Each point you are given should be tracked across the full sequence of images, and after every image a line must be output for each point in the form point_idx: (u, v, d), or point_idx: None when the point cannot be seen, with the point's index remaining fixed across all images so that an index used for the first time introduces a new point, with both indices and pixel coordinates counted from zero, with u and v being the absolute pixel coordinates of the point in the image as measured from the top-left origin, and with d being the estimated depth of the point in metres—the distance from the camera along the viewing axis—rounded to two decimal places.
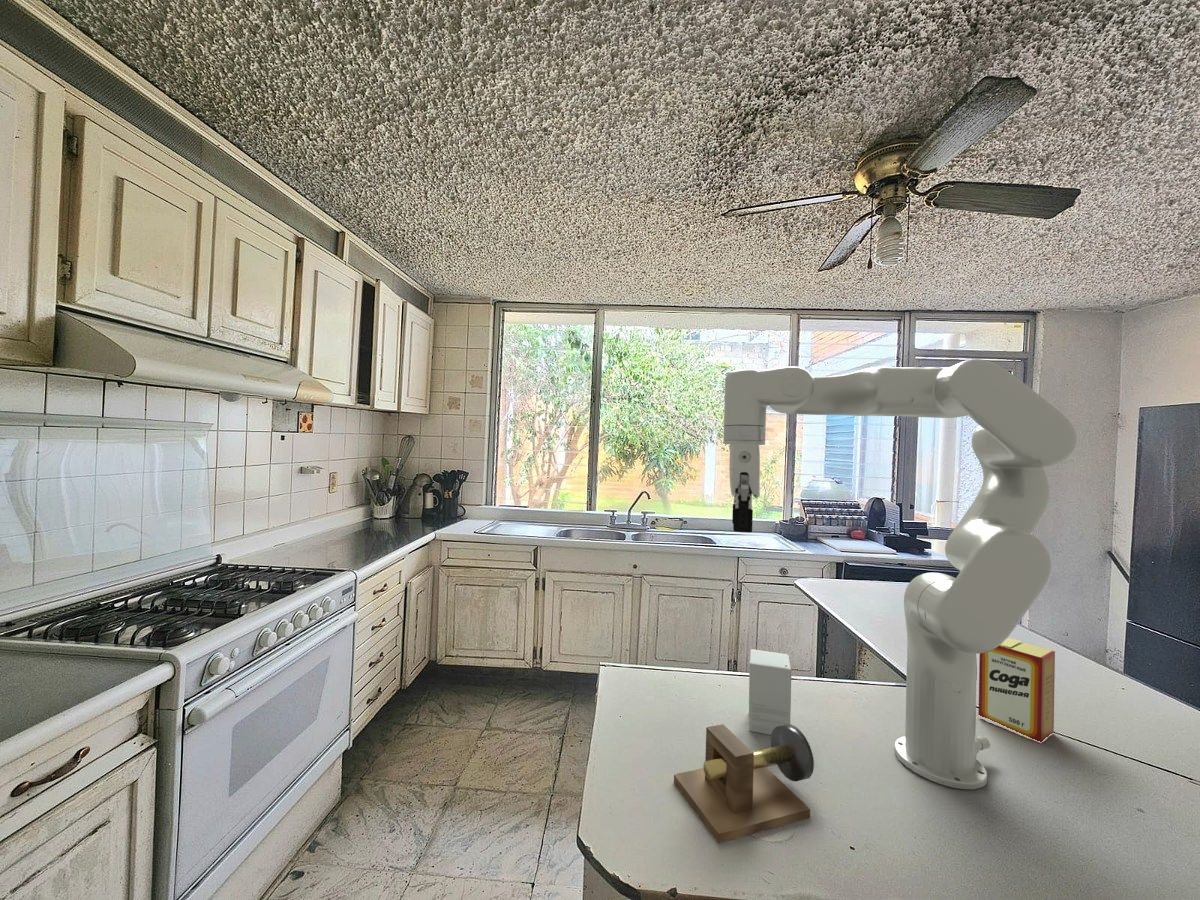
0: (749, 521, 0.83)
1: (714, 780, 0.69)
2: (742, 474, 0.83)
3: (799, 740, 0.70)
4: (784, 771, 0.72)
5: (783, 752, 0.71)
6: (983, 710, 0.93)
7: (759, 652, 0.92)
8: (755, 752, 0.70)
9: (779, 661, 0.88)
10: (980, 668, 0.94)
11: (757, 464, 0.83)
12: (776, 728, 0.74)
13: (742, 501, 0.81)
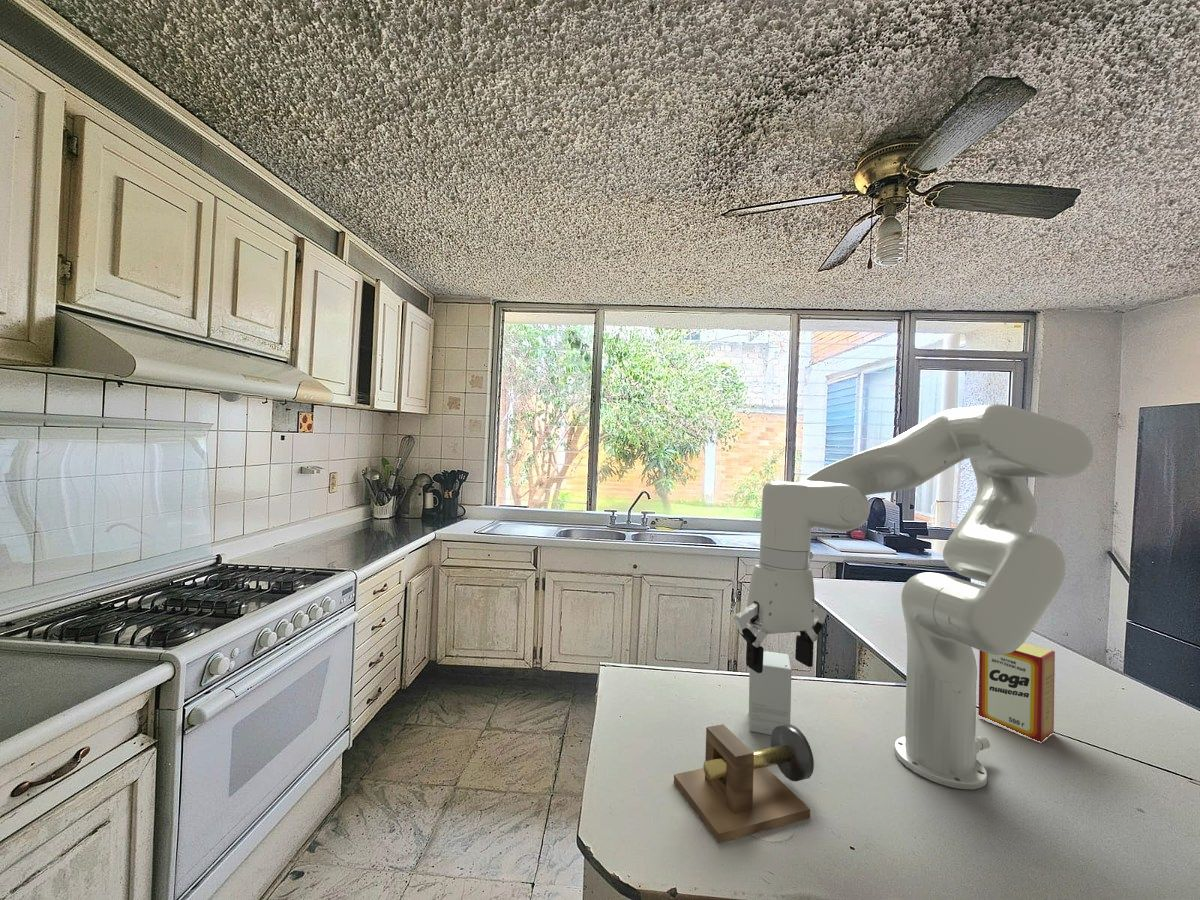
0: None
1: (714, 780, 0.69)
2: None
3: (799, 740, 0.70)
4: (784, 771, 0.72)
5: (783, 752, 0.71)
6: (983, 710, 0.93)
7: None
8: (755, 752, 0.70)
9: (779, 661, 0.88)
10: (980, 668, 0.94)
11: None
12: (776, 728, 0.74)
13: None
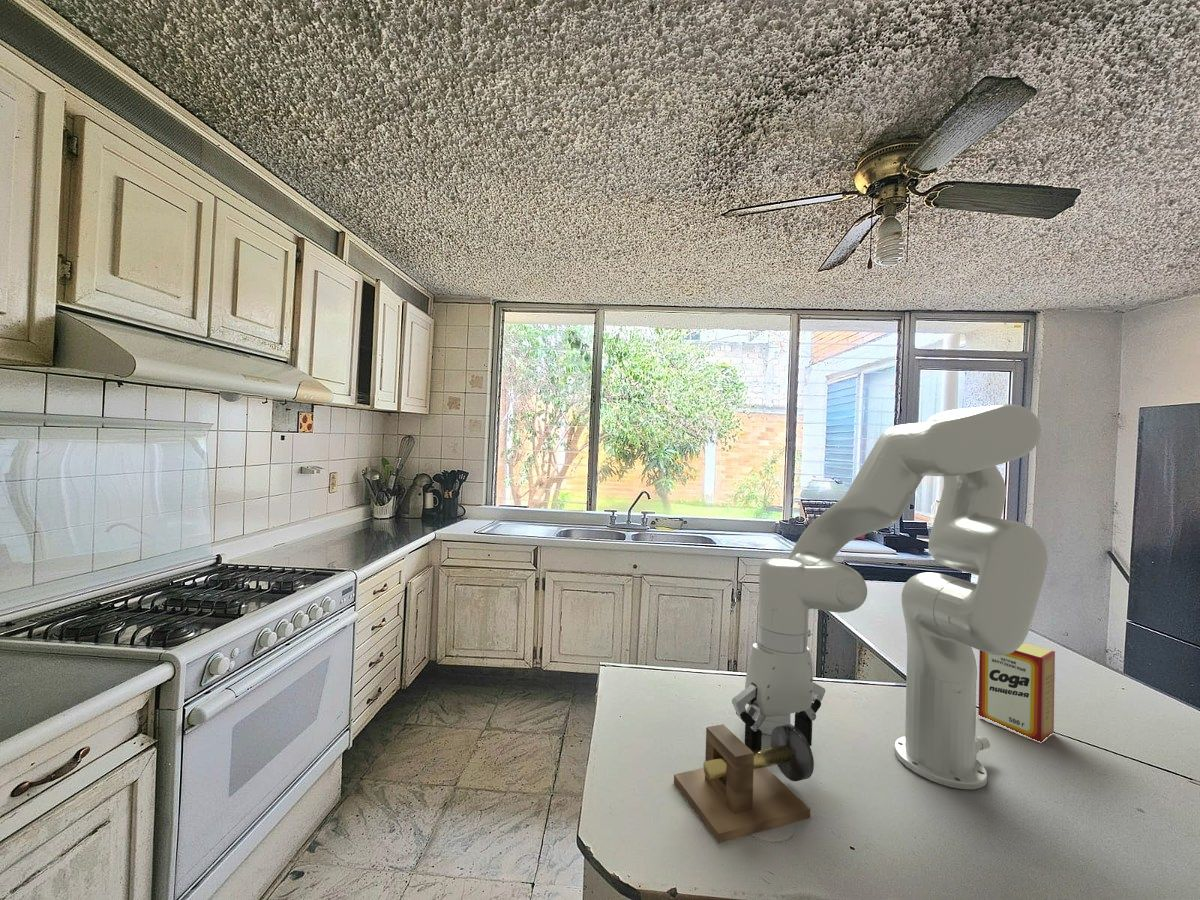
0: None
1: (714, 780, 0.69)
2: None
3: (799, 740, 0.70)
4: (784, 771, 0.72)
5: (783, 752, 0.71)
6: (983, 710, 0.93)
7: None
8: (755, 752, 0.70)
9: None
10: (980, 668, 0.94)
11: None
12: (776, 728, 0.74)
13: None
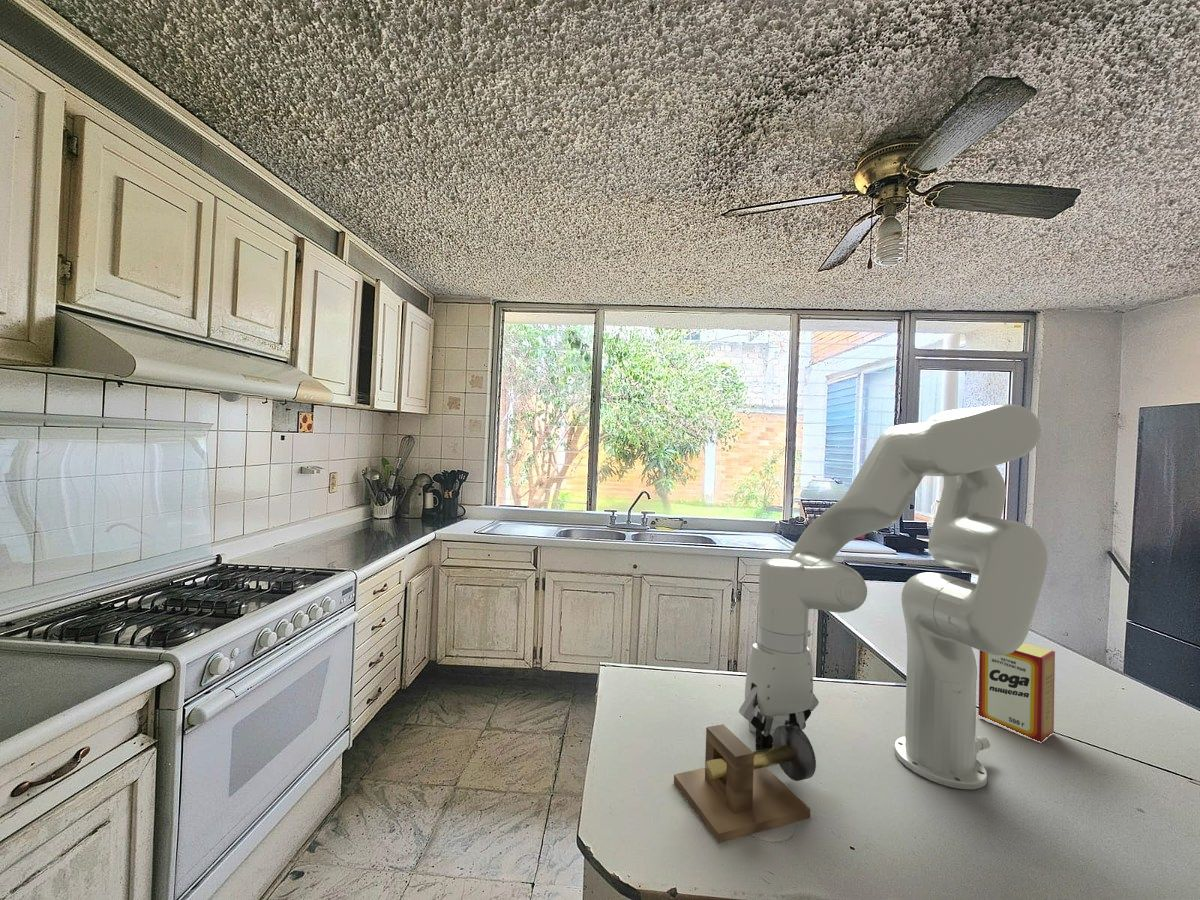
0: None
1: (714, 780, 0.69)
2: None
3: (801, 740, 0.71)
4: (786, 771, 0.73)
5: (785, 752, 0.71)
6: (983, 710, 0.93)
7: None
8: (757, 752, 0.70)
9: None
10: (980, 668, 0.94)
11: None
12: (778, 728, 0.75)
13: None
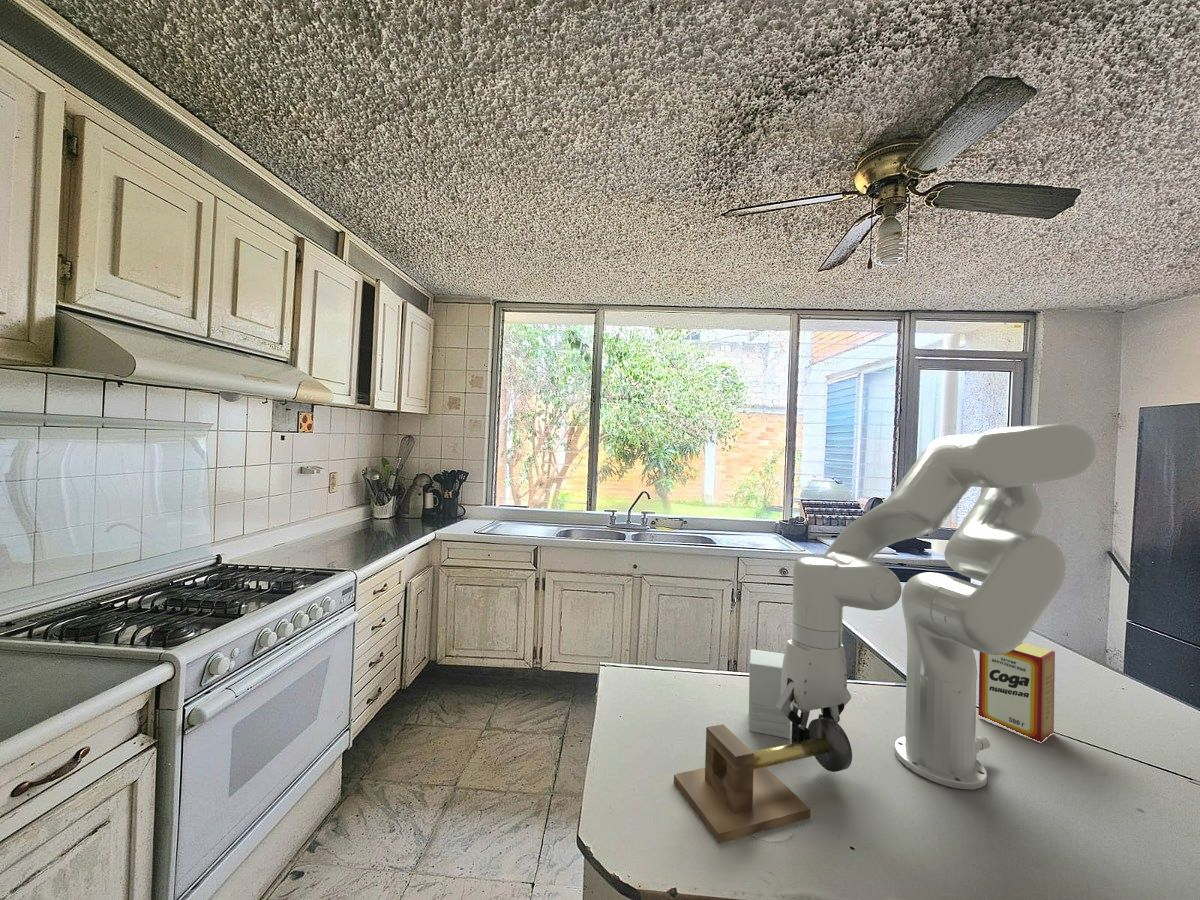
0: None
1: (714, 780, 0.69)
2: None
3: (837, 732, 0.73)
4: (822, 762, 0.75)
5: (822, 744, 0.73)
6: (983, 710, 0.93)
7: (759, 653, 0.92)
8: (795, 744, 0.73)
9: (779, 661, 0.88)
10: (980, 668, 0.94)
11: None
12: (813, 721, 0.77)
13: None
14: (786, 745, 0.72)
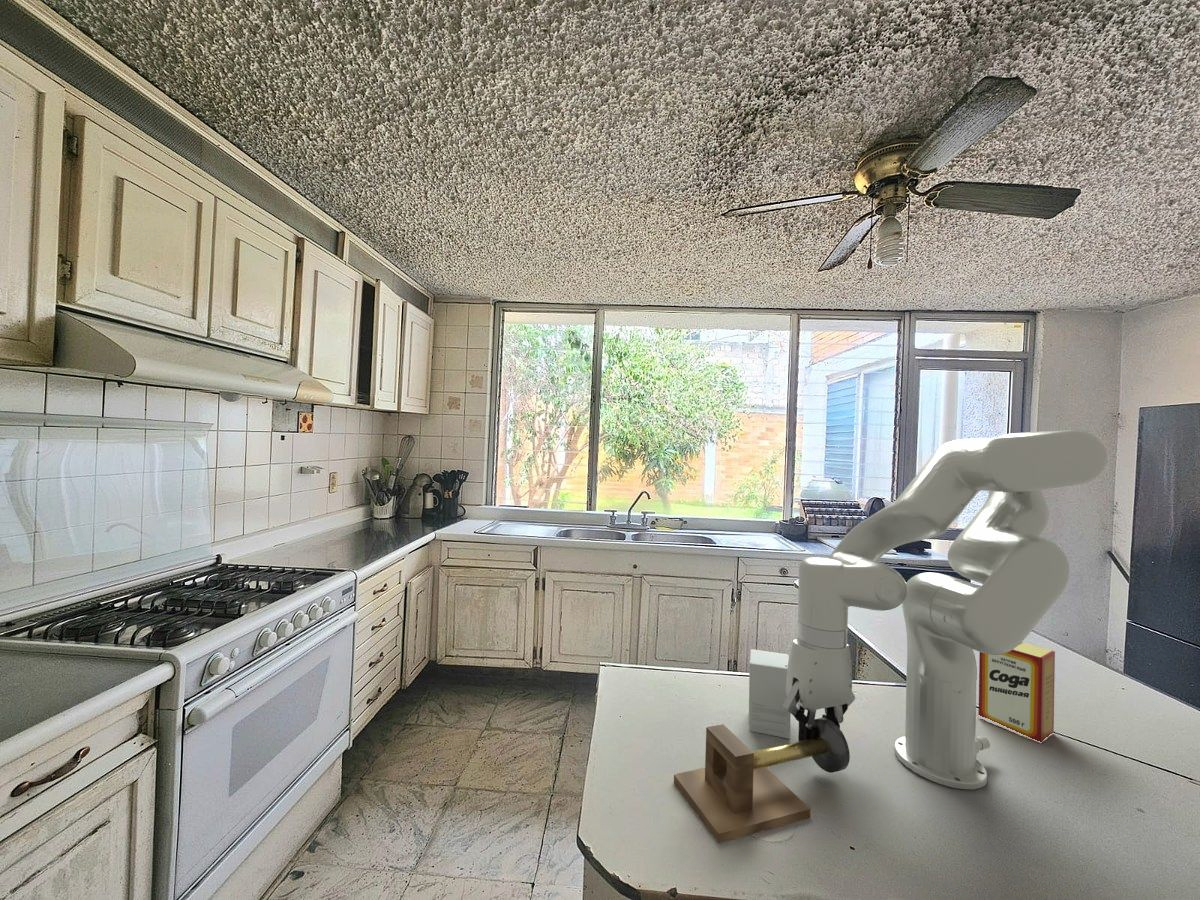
0: None
1: (714, 780, 0.69)
2: None
3: (835, 733, 0.73)
4: (819, 763, 0.75)
5: (819, 744, 0.73)
6: (983, 710, 0.93)
7: (759, 653, 0.92)
8: (792, 744, 0.73)
9: (779, 661, 0.88)
10: (980, 668, 0.94)
11: None
12: None
13: None
14: (783, 746, 0.72)
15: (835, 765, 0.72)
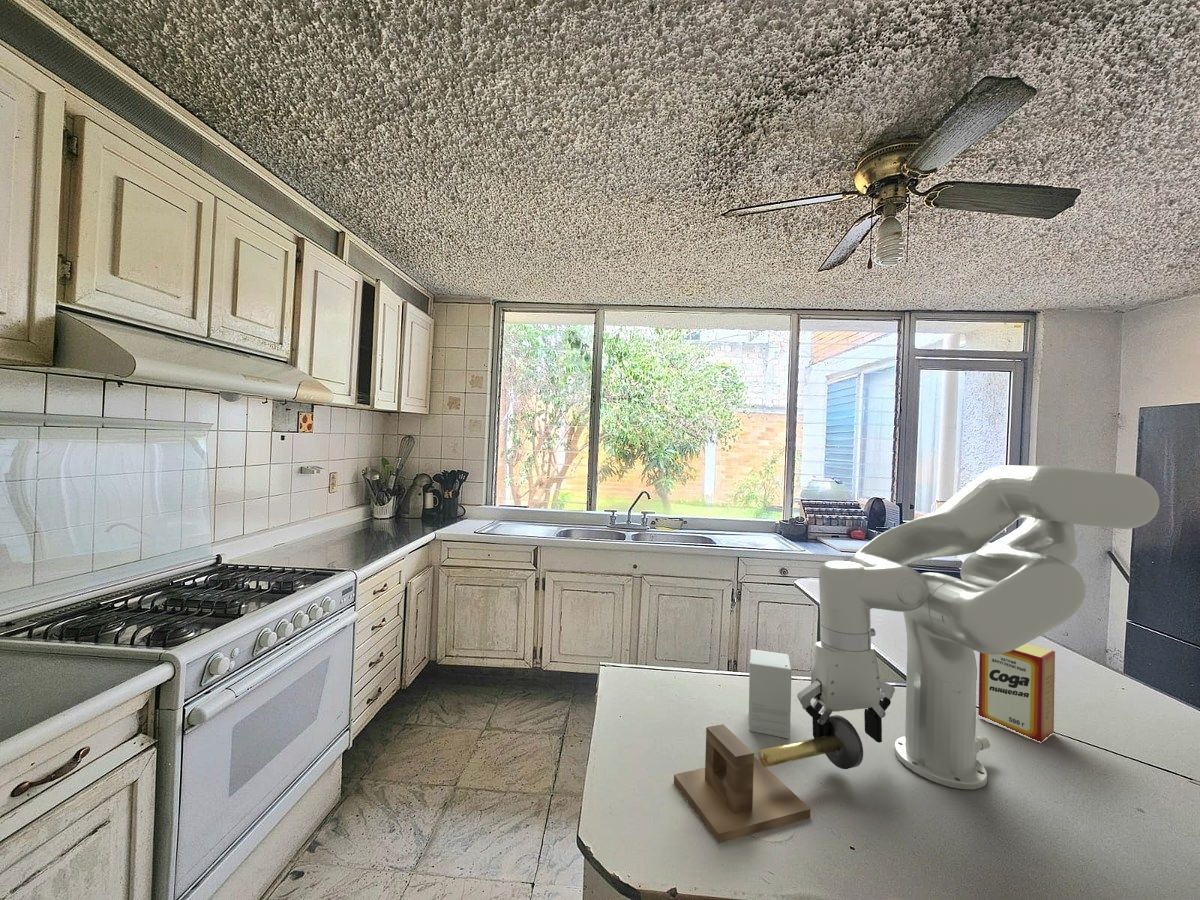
0: None
1: (714, 780, 0.69)
2: None
3: (848, 730, 0.74)
4: (833, 760, 0.76)
5: (833, 741, 0.74)
6: (983, 710, 0.93)
7: (759, 653, 0.92)
8: (806, 741, 0.73)
9: (779, 661, 0.88)
10: (980, 668, 0.94)
11: None
12: None
13: None
14: (798, 743, 0.73)
15: (849, 762, 0.73)
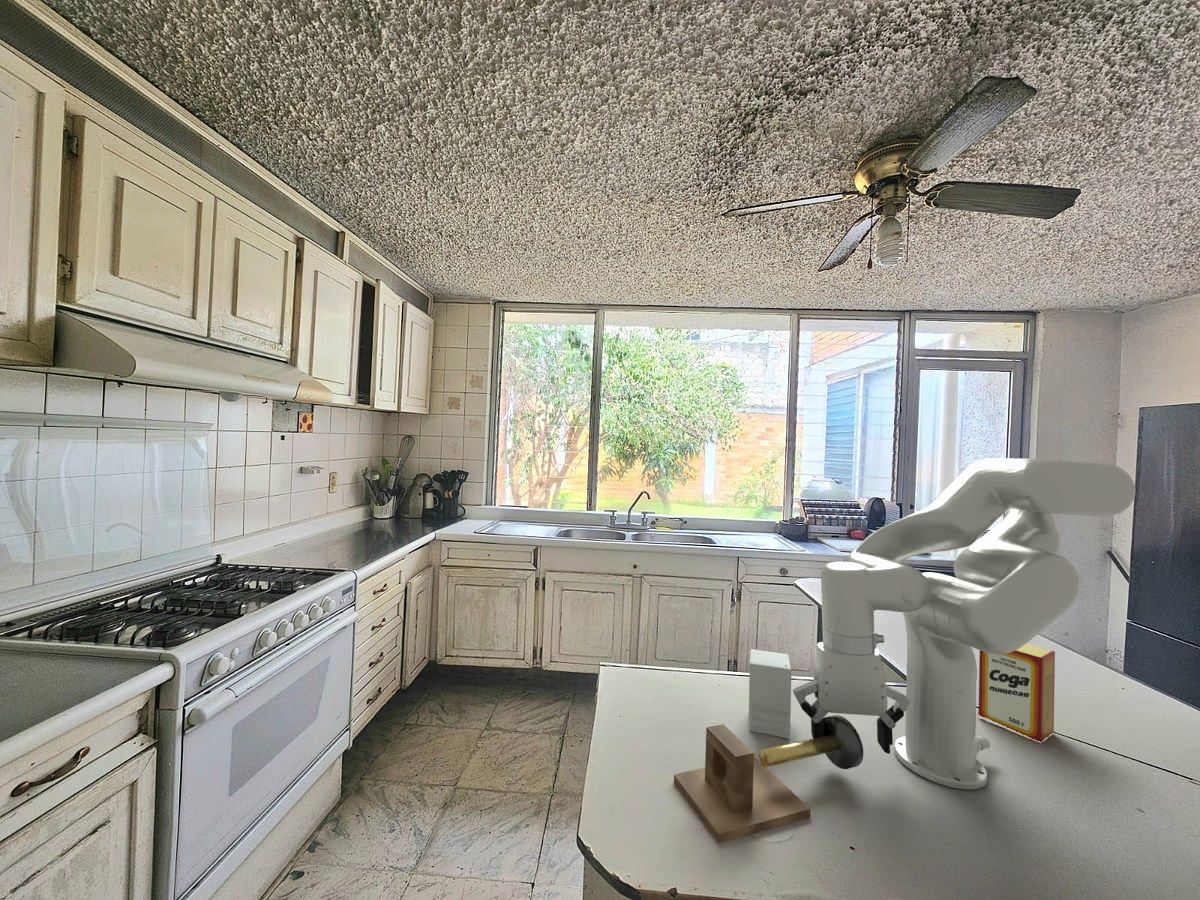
0: None
1: (714, 780, 0.69)
2: None
3: (848, 730, 0.74)
4: (833, 760, 0.76)
5: (833, 741, 0.74)
6: (983, 710, 0.93)
7: (759, 652, 0.92)
8: (807, 741, 0.73)
9: (779, 661, 0.88)
10: (980, 668, 0.94)
11: None
12: (824, 719, 0.78)
13: None
14: (798, 742, 0.73)
15: (849, 762, 0.73)
